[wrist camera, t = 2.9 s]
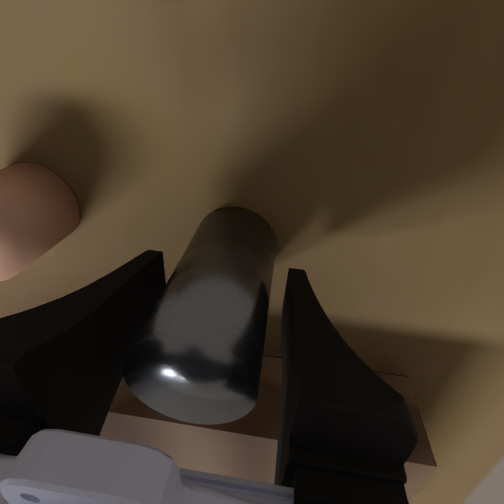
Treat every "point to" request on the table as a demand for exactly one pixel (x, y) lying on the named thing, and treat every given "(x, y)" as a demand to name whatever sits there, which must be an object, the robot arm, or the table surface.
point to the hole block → (242, 433)
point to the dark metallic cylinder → (208, 324)
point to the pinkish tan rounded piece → (32, 215)
